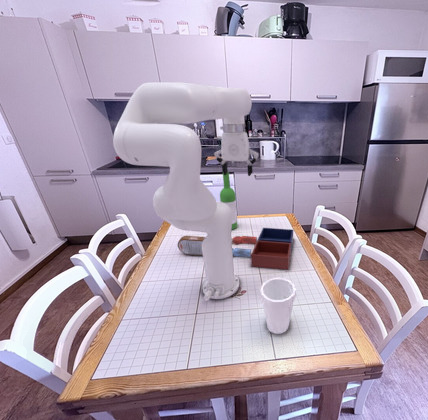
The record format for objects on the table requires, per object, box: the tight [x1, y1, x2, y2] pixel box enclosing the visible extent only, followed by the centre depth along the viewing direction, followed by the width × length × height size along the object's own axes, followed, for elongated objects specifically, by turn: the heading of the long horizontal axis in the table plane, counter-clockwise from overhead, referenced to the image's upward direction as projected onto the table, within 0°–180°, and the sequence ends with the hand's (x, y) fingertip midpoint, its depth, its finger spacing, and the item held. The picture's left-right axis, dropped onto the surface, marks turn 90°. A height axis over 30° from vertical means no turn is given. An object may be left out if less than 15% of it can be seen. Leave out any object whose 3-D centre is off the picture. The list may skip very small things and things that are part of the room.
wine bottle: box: [219, 171, 238, 231], centre depth 120 cm, size 8×8×30 cm
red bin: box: [250, 240, 292, 271], centre depth 97 cm, size 11×15×6 cm
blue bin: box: [257, 227, 294, 251], centre depth 108 cm, size 11×15×6 cm
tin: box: [177, 235, 206, 257], centre depth 100 cm, size 15×3×8 cm, turn 84°
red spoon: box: [232, 235, 258, 245], centre depth 111 cm, size 11×4×3 cm, turn 82°
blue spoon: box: [232, 247, 252, 258], centre depth 101 cm, size 11×4×3 cm, turn 82°
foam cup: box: [260, 277, 297, 335], centre depth 66 cm, size 10×9×13 cm
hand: (237, 174), depth 93 cm, fingers open, 9 cm apart
